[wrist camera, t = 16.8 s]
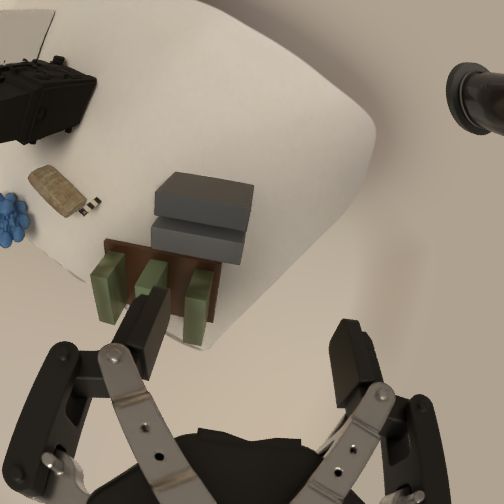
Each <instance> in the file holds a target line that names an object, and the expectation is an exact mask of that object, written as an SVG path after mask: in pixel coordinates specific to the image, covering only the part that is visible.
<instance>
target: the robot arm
mask: <svg viewBox="0 0 504 504" xmlns="http://www.w3.org/2000/svg"><path fill="white" fill-rule="evenodd" d="M458 99H459V104H460V108H461V110H462V112H463V114H464V116H465V118H466V119H467V120H468V121H469V122H470V123H471V124H472V125H474V126H476V127H479V128H483V129H486V130H489V131H492V132H494V133H497V134H500V135H502V136H504V74H501V73H491V72H488V71H487V72H482V71H476V70H472V71H469V72H467V73H465V74H464V75H463V77H462V78H461V80H460V83H459V87H458ZM170 295H171V291H170V288H166V287H161V286H157V285H154V286H153V287H152V289H151V291H150V293H149V295H145V294H140V295H139V296H138V297H137V298H135V299H134V300H133V301H132V303H131V305H130V307H129V310H128V311H127V313H126V315H125V317H124V319H123V321H122V323H121V325H120V327H119V329H118V330H117V332H116V334H115V336H114V339H113V340H112V342H111V343H110V344H107V345H105V346H104V347H102V348H101V349H100V350H98V351H79V350H78V348H77V347H76V346H75V345H74V344H73V343H71V342H67V341H63V342H59V343H57V344H55V345H54V346H53V347H52V348H51V349H50V351H49V353H48V355H47V357H46V359H45V361H44V363H43V365H42V367H41V369H40V371H39V373H38V375H37V377H36V379H35V382H34V384H33V386H32V388H31V390H30V393H29V395H28V397H27V400H26V402H25V404H24V407H23V409H22V412H21V414H20V417H19V419H18V422H17V424H16V427H15V430H14V433H13V435H12V438H11V441H10V444H9V447H8V450H7V453H6V456H5V459H4V463H3V467H2V473H3V477H4V480H5V482H6V483H7V484H8V486H9V487H10V488H11V489H13V490H15V491H16V492H19V493H21V494H23V495H24V496H26V497H28V498H30V499H33V500H36V501H38V502H41V503H45V504H365V503H364V502H363V501H362V500H361V499H360V498H359V497H358V496H357V495H356V494H355V493H354V491H352V489H351V487H352V486H353V485H354V483H355V482H356V480H357V478H358V477H359V475H360V474H361V472H362V470H363V469H364V467H365V466H366V464H367V462H368V460H369V459H370V457H371V455H372V454H373V452H374V450H375V448H376V446H377V444H378V442H379V441H381V450H382V460H383V470H384V483H385V484H384V485H385V497H384V498H383V499H382V500H381V502H380V504H451V496H450V489H449V481H448V475H447V468H446V462H445V457H444V451H443V447H442V442H441V437H440V432H439V428H438V423H437V419H436V415H435V411H434V407H433V404H432V402H431V401H430V399H429V398H428V397H426V396H424V395H421V394H417V395H415V396H413V397H412V398H411V399H410V400H409V399H406V398H403V397H400V396H397V395H395V393H394V391H393V389H392V388H391V387H390V386H389V385H387V384H386V383H384V381H383V378H382V374H381V370H380V367H379V363H378V360H377V358H376V353H375V351H374V346H373V342H372V340H371V338H370V337H369V336H368V334H367V333H366V332H362V331H361V327H360V323H359V321H357V320H351V319H342V320H341V322H340V324H339V325H338V327H337V329H336V331H335V333H334V334H333V337H332V338H331V340H330V344H329V355H330V362H331V368H332V375H333V382H334V389H335V396H336V404H337V408H345V409H346V413H345V414H344V416H343V417H342V418H341V420H340V421H339V423H338V424H337V426H336V427H335V428H334V430H333V431H332V433H331V434H330V435H329V437H328V438H327V439H326V441H325V442H324V443H323V444H322V445H321V447H320V448H319V449H318V450H317V451H316V452H315V451H314V450H311V449H310V448H308V447H305V446H302V445H301V439H288V438H272V439H266V440H259V441H247V440H244V439H242V438H239V437H236V436H233V435H231V434H228V433H225V432H221V431H215V430H208V429H203V428H198V432H197V433H193V434H185V435H181V436H178V437H176V438H173V436H172V434H171V432H170V430H169V429H168V427H167V425H166V423H165V421H164V419H163V417H162V415H161V413H160V412H159V410H158V408H157V406H156V404H155V402H154V400H153V398H152V396H151V394H150V393H149V392H148V391H147V389H146V387H145V385H144V383H143V381H142V379H143V380H147V381H149V378H150V376H151V373H152V370H153V367H154V364H155V361H156V358H157V355H158V352H159V349H160V346H161V343H162V341H163V338H164V335H165V332H166V330H167V327H168V324H169V320H170ZM92 397H96V398H111V401H112V404H113V407H114V410H115V413H116V415H117V417H118V420H119V422H120V424H121V427H122V430H123V432H124V434H125V436H126V439H127V441H128V443H129V445H130V447H131V449H132V452H133V454H134V456H135V458H136V460H137V462H138V463H137V464H135V465H134V466H132V467H131V468H129V469H128V470H127V471H125V472H123V473H122V474H120V475H119V476H117V477H115V478H114V479H112V480H111V481H109V482H107V483H106V484H104V485H103V486H101V487H99V488H98V489H96V490H95V491H94V492H93V493H92V494H91V495H90V494H89V493H88V491H87V490H86V488H85V486H84V482H83V476H84V475H83V470H82V468H81V466H80V465H79V464H78V463H77V462H76V461H75V460H74V456H75V453H76V449H77V445H78V442H79V438H80V435H81V431H82V428H83V425H84V422H85V419H86V416H87V412H88V409H89V406H90V403H91V400H92ZM408 436H409V437H408ZM409 442H410V443H409ZM410 448H411V450H410Z"/></svg>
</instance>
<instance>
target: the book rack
mask: <svg viewBox="0 0 504 504" xmlns="http://www.w3.org/2000/svg"><path fill="white" fill-rule="evenodd" d="M104 250H105V256H104V258H103V259H102V260H101V261H100V263H99V264H98V265H97V267H96V268H95V269H94V270H93V272H92V273H91V274H90V276H91V282H92V287H93V293H94V298H95V302H96V307H97V311H98V315H99V320H100V321H102V322H105V323H109V324H112V325H115V324H116V322H117V320H118V318H119V316H120V314H121V312H122V310H123V308H124V307H125V305H126V304H129V305H131V303H132V301H133V300H134V299H135V298H136V295H135V284H136V282H137V281H138V279H139V277H140V275H141V274H142V272H143V270H144V269H145V267H146V265H147V263H148V262H149V260H150V259H154V260H159V261H164V262H168V271H167V288H170V291H171V295H170V314H172V315H177V316H181V317H184V328H183V342H184V343H189V344H194V345H199V346H201V345H202V340H203V336H204V332H205V327H206V323H207V322H211V323H213V320H214V313H215V306H216V300H217V293H218V286H219V280H220V274H221V267H222V262H220V261H214V260H209V259H204V258H199V257H193V256H188V255H183V254H178V253H173V252H168V251H163V250H158V249H152V248H151V247H146V246H141V245H136V244H131V243H126V242H121V241H116V240H111V239H105V240H104Z"/></svg>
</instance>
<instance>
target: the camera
mask: <svg viewBox="0 0 504 504" xmlns="http://www.w3.org/2000/svg"><path fill="white" fill-rule="evenodd" d="M64 60H65V58H64V57H61V56H54V58H53V61H50V62H51V63H48V62H45V61H43V60H38V59H33V60H32V61H31V62H29V61H28V60H27V59H25V58H23V60H22V61H25V62H19V63H10V64H5V65H3V64H2V65H0V143H4V142H9V141H13V140H17V141H18V142H20V143H21V144H23V145H26V144H28V143H30V144H36V141H37V140H38V139H42V138H44V137H46V136H49V135H51V134H54V133H57V132H60V131H63V130H65V129H66V130H65V132H66V133H71V132H72V127H74V126H76V125H77V124H79V123H80V120H81V117H82V115H83V112H84V110H85V107H86V105H87V102H88V100H89V98H90V95H91V93H92V91H93V89H94V86H95V84H96V78H95V77H93V76H90V75H85V74H83V73H81V72H79V71H76V70H74V69H72V68H70V67H67V66H65V65H63V62H64ZM4 63H5V60H4Z"/></svg>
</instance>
